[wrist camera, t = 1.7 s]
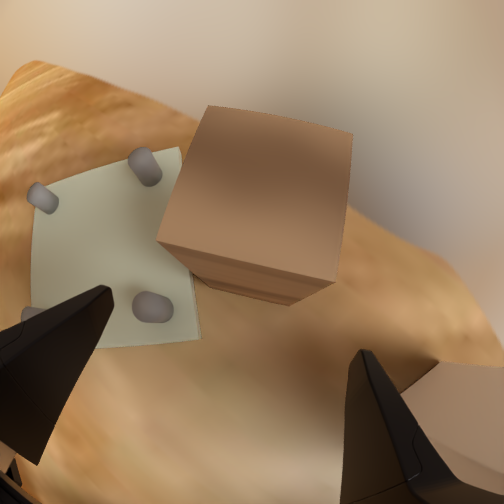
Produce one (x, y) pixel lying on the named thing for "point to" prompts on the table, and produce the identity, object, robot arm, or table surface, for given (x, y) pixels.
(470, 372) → the milk carton
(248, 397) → the table surface
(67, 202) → the peg stand
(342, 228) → the walnut block
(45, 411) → the robot arm
